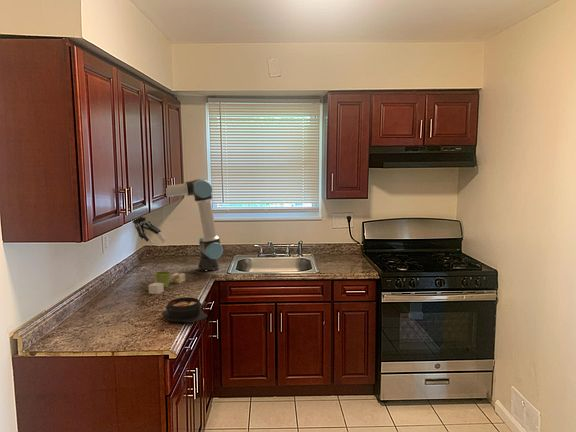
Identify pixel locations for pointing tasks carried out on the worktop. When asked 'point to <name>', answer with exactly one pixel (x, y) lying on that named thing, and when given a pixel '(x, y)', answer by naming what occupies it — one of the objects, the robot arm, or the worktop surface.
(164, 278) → the plant pot
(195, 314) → the casserole
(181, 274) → the birch block
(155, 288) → the grey block
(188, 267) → the worktop surface
